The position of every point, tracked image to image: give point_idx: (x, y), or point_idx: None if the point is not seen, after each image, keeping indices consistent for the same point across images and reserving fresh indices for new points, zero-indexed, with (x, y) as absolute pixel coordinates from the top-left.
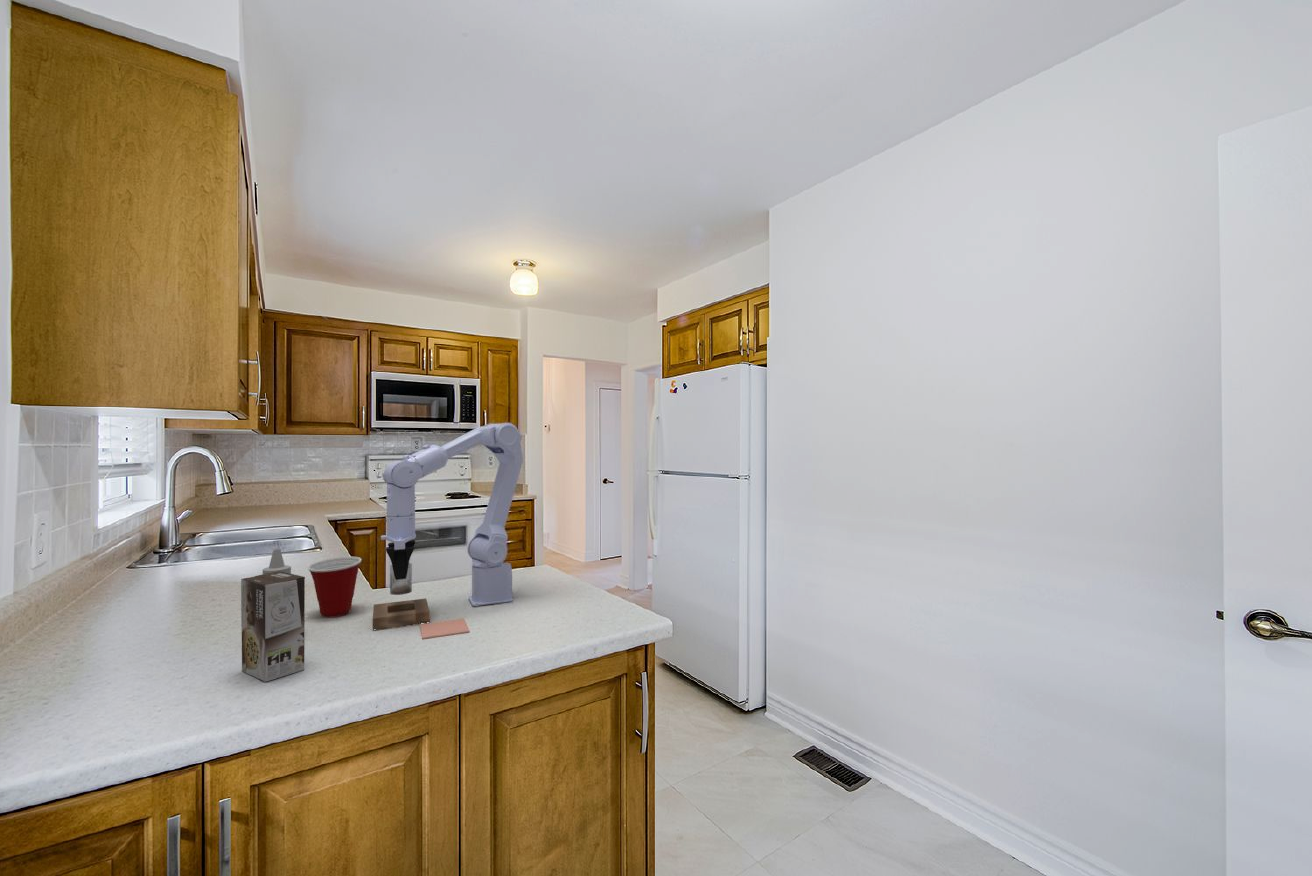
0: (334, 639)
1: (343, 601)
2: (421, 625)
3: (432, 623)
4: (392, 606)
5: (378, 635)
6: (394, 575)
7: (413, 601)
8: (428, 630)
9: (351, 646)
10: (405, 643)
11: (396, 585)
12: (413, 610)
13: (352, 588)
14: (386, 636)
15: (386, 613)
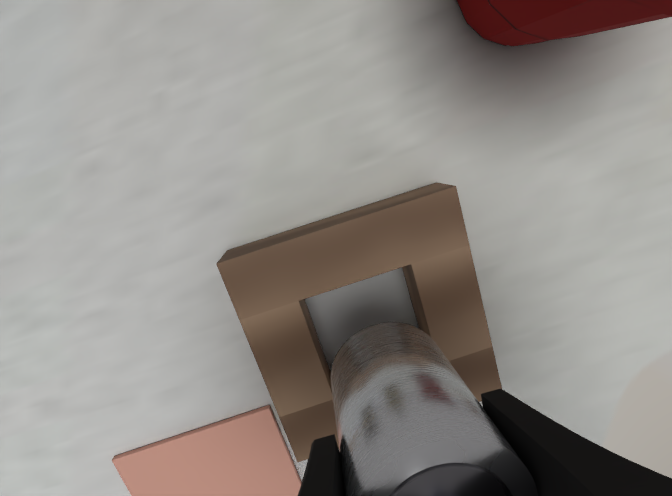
0: (129, 128)
1: (496, 10)
2: (254, 417)
3: (272, 448)
4: (415, 283)
5: (169, 291)
6: (307, 462)
7: (465, 355)
8: (192, 457)
9: (42, 233)
10: (75, 414)
11: (337, 404)
12: (321, 397)
13: (580, 27)
14: (156, 325)
15: (291, 298)
